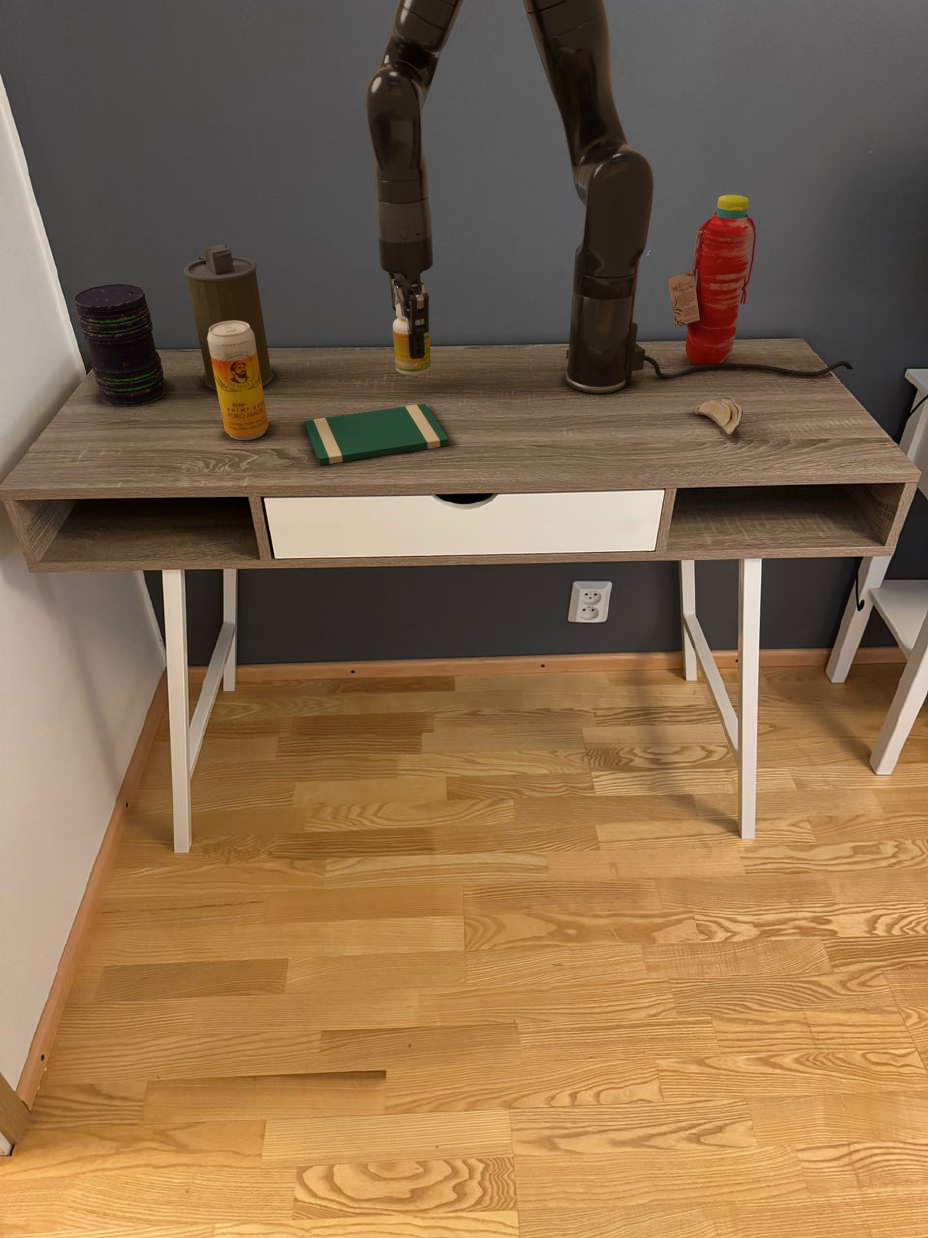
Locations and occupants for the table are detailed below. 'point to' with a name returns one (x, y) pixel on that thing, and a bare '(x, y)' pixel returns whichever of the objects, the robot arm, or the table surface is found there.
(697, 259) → the water bottle
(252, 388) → the beer can
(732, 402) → the dumpling
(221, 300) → the canister
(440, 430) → the towel
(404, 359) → the supplement bottle
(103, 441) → the table surface
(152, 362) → the dark cylinder
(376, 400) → the table surface
